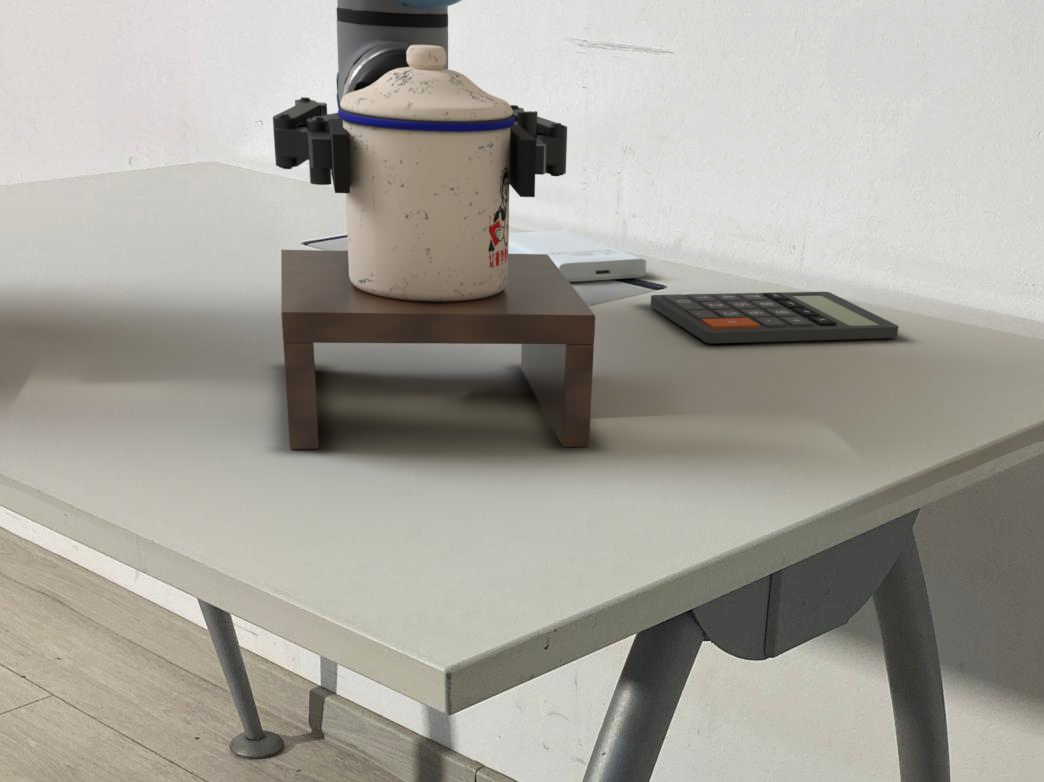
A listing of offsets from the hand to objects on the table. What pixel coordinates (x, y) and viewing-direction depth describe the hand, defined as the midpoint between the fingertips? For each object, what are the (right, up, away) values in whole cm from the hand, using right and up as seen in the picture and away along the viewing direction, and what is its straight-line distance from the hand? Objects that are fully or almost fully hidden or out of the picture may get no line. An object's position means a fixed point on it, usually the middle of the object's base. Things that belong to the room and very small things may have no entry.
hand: (435, 166), depth 72 cm
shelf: (-2, -9, +11) cm, 14 cm away
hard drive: (+5, +13, +48) cm, 50 cm away
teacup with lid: (-1, -3, +7) cm, 8 cm away
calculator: (+21, +3, +33) cm, 40 cm away
